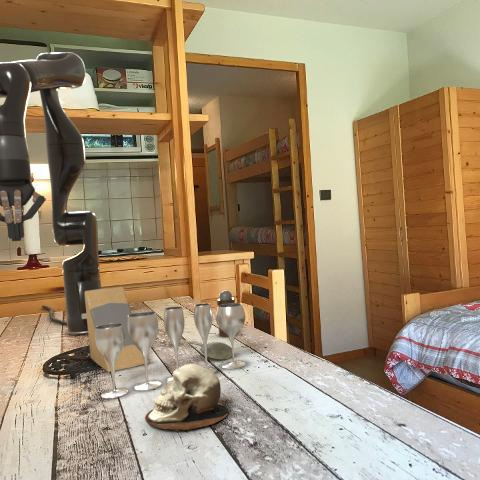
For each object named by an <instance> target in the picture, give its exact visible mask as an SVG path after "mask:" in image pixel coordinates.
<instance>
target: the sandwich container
mask: <svg viewBox="0 0 480 480" xmlns="http://www.w3.org/2000/svg"><path fill="white" fill-rule="evenodd" d="M85 303H86V313H87V324H88V334H87V336H88V344H89V345H88V346H89V354H90V359H91V360H92V361H93V362H95V363H96V364H97V365H98V366H100V367H101V368H102V369H103V370H105V371H107V372H108V373H111V369H110V366H109V363H108V362H107V360H106V359H105V358H104V357H103V356H102V354H101V353H100V352H99V350H98V348H97V345H96V341H95V330H96V327H98V326H101V325H105V324H113V323H120V324H122V325H123V328H124V333H125V342H124V346H123V349H122V351H121V353H120V354H119V356H118V358H117V360H116V364H115V372H116V371H119V370H125V369H130V368H134V367H137V366H138V367H139V366H142V365H145V364H144V359H143V355H142V353H141V352H140V351H139V349H138V348H137V347H136V346H135V345H134V344H133V342H132V341H131V339H130V336H129V333H128V327H127V322H128V315H130V314H133V313H132V311H131V307H130V304H129V301H128V297H127V295H126V291H125V288H124V286H116V287H104V288H101V289H97V290H89V291H85ZM147 364H150V360H149V359H148V360H147Z"/></svg>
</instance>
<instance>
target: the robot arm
mask: <svg viewBox="0 0 480 480" xmlns="http://www.w3.org/2000/svg"><path fill="white" fill-rule="evenodd" d="M86 77H87V73H86V66H85V64H84V61H83V59H82V58H81V57H80V56H79V55H78V54H76V53H74V52H68V51H67V52H63V51H62V52H43V53H40V54H38V55H37V57H36V59H24V60H15V61H11V62H10V61H9V62H8V61H7V62H0V99H5V100H4V102H3V103H2V104H1V105H0V207H2V209H3V213H4V215H3V214H2V213H1V212H0V222H2V223H5V224H6V230H7V237H8V239H9V240H11V242H21V241H22V239H24V237H25V228H24V227H25V226H24V223H25V222H27V221H29V220H32V219H33V218H34V217H35V215H36V214H37V212H38V211H39V210H40V209H41V207H42V206H43V205H44V204H45V202H46V201H47V198H46V196H44V195H42V194H40V193H38V192H36V188H35V186H34V185H33V183H32V173H31V162H30V161H31V160H30V149H29V146H28V141H27V131H26V122H25V121H26V113H27V108H28V102H29V99H30V95H31V93H36V92H39V96H40V101H41V106H42V112H43V114H42V115H43V123H44V132H45V133H44V134H45V149H46V157H47V165H48V173H49V183H50V193H51V195H50V196H51V225H52V226H51V227H52V235H53V240H54V242H55V243H56V244H57V246H60V247H69V246H83V249H82V250H81V252H79V253H77V254H76V255H74V256H72V257H69V258H67V259H65V260H63V261H62V263H61V269H62V277H63V289H64V303H65V313H66V321H63V320H62V319H58V318H56V317H54V315H53V314H54V310H53V308H51V307H50V306H48V305H44V304H43V305H41V308H42V309H46V310H48V311H49V319H50V320H51V321H52V322H54V323H57V324H61V325H64V326H66V328H67V331H66V332H67V335H71V336H72V335H73V336H79V335H88V324H87V313H86V303H85V291H89V290H97V289H102V283H101V270H100V255H99V228H98V220H97V216H96V214H95V213H94V212H93V211H91V210H84V211H83V210H81V211H80V210H79V211H68V201H69V197H70V194H71V191H72V190H73V188H74V186H75V184H76V182H77V181H78V179H79V178H80V176H81V174H82V172H83V171H84V168H85V165H86V152H85V142H84V138H83V136H82V134H81V132H80V130H79V129H78V128H77V127H76V125H75V123H74V122H73V121H72V120H71V118H70V117H69V116H68V115H67V113H66V112H65V110H64V108H63V107H62V103H61V100H60V96H59V90H73V89H79V88H81V87H82V86H83V85H84V84H85V82H86ZM31 198H32V199H31ZM30 200H32V202H33V204H32V205H31V207H30V208H29V209H28V210H27V211H26V213H24V212H25V206H26V205H27V204H28V203H29V201H30ZM13 207H14V208H13Z"/></svg>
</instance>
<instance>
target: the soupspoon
mask: <svg viewBox="0 0 480 480" xmlns="http://www.w3.org/2000/svg"><path fill="white" fill-rule="evenodd" d="M169 343H170V345H172V342H171V341H170V340H169ZM180 343H185V344H189V345H195V346H197V347H200V348H199V350H200V352H201V354H203V355H205V352H204V345H203V342H197V341H192V340H186V339H181V340H180ZM207 358H210V359H214V360H228V359H230V358H232V346H231V345H228V344H226V343H224V342H220V341H214V342H207Z"/></svg>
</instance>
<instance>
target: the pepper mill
mask: <svg viewBox="0 0 480 480" xmlns="http://www.w3.org/2000/svg"><path fill="white" fill-rule="evenodd" d="M228 303H236V298H235V297H233V294H232V292H231V291H229V290H226V289H225V290H222V291H220V293H219V294H218V299H216V308H218V306H219V305H222V304H228ZM218 335H219V337H222V338H227V337H228V335H227V334H226V333H225V332H224V331H223V330H221V329H220V328H219V327H218ZM228 338H229V337H228Z"/></svg>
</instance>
